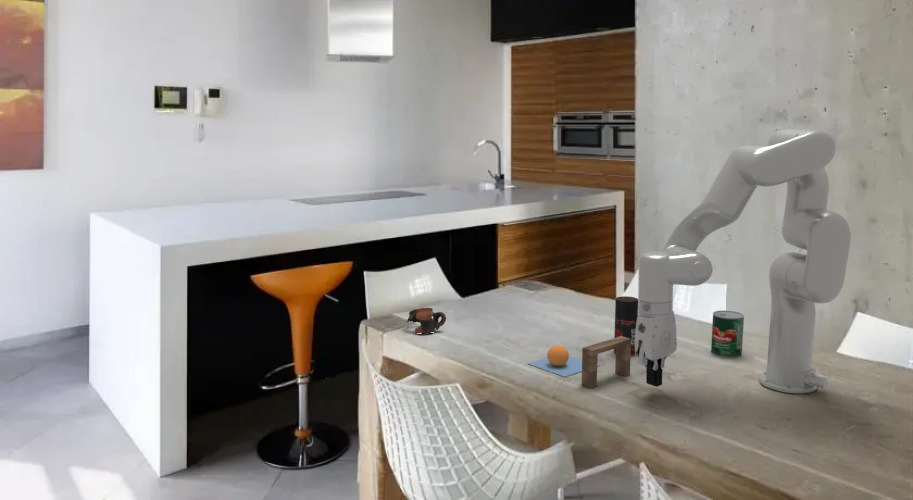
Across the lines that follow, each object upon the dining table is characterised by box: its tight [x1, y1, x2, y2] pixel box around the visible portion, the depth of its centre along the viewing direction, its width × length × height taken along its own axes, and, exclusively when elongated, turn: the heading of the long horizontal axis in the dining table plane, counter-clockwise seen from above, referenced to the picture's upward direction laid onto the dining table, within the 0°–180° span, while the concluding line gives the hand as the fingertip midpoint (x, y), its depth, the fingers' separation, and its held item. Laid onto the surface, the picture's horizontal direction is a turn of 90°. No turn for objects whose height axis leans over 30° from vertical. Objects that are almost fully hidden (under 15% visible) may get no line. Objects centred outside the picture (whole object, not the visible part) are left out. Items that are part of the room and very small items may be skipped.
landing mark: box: [527, 354, 600, 378], centre depth 190 cm, size 13×13×1 cm
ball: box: [546, 344, 570, 367], centre depth 189 cm, size 6×6×6 cm
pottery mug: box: [406, 307, 447, 334], centre depth 221 cm, size 12×10×8 cm
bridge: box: [581, 336, 632, 389], centre depth 178 cm, size 3×14×9 cm, turn 129°
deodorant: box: [613, 296, 638, 357], centre depth 198 cm, size 6×6×15 cm
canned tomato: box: [710, 310, 745, 359], centre depth 197 cm, size 8×8×11 cm
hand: (654, 384), depth 169 cm, fingers closed
